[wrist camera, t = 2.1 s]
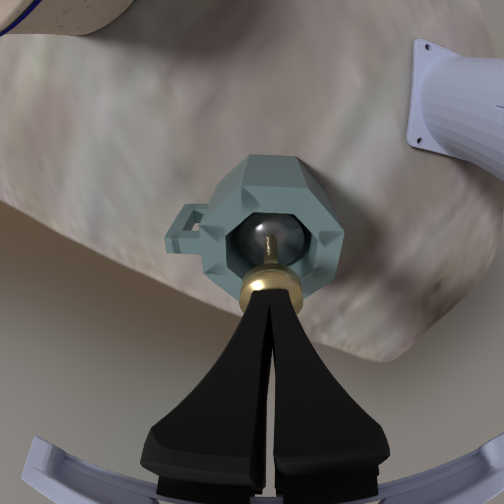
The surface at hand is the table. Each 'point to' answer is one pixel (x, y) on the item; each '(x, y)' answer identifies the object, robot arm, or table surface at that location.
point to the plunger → (271, 255)
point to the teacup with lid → (58, 16)
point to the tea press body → (267, 201)
